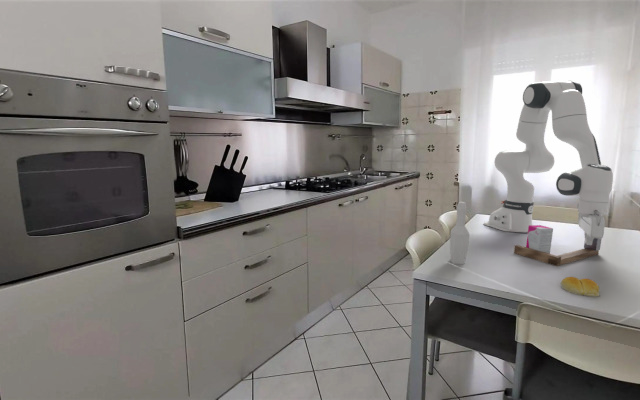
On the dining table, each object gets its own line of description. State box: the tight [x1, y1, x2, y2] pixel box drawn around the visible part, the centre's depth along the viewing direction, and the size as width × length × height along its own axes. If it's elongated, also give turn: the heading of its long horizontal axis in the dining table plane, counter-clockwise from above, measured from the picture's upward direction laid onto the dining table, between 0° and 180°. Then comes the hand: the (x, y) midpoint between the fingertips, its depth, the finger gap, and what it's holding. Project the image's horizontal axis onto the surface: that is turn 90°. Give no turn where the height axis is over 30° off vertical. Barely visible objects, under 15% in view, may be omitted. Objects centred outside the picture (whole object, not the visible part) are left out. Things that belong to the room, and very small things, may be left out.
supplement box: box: [525, 224, 554, 254], centre depth 127 cm, size 6×6×12 cm
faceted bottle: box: [449, 201, 470, 265], centre depth 119 cm, size 6×6×22 cm
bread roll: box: [560, 276, 600, 298], centre depth 98 cm, size 8×9×4 cm
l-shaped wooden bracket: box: [513, 238, 602, 267], centre depth 129 cm, size 16×28×7 cm, turn 117°
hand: (588, 244), depth 128 cm, fingers closed
